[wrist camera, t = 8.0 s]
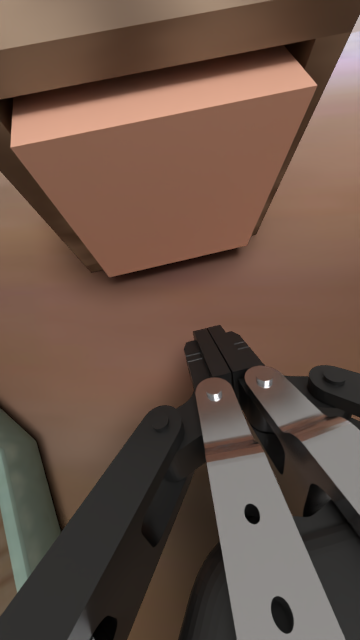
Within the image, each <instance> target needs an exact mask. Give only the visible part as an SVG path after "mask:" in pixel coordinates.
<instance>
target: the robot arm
mask: <svg viewBox="0 0 360 640" xmlns="http://www.w3.org/2000/svg"><path fill="white" fill-rule="evenodd" d="M193 335H194V341H190V342H186V345H185V348H184V351H185V356H186V360H187V365H188V369H189V373H190V377H191V380H192V384H193V388H194V392H193V395H192V396H191V398H190V399H189V400H188V401H187V402H186V403H185V404H183V405H182V406H180V407H178V408H177V409H175V408H174V407H172V406H167V405H163V406H159V407H156V408H154V409H152V410H151V411H150V412H149V413H148V414H147V415H146V416H145V417H144V419H143V420H142V421H141V423H140V424H139V426H138V427H137V428H136V430H135V431H134V433H133V434H132V435H131V437H130V438H129V439H128V441H127V442H126V444H125V445H124V446H123V448H122V449H121V450H120V452H119V453H118V455H117V456H116V457H115V459H114V460H113V461H112V463H111V464H110V466H109V467H108V468H107V470H106V471H105V473H104V474H103V475H102V477H101V478H100V479H99V481H98V482H97V484H96V485H95V486H94V488H93V489H92V490H91V492H90V493H89V495H88V496H87V497H86V499H85V500H84V502H83V503H82V504H81V506H80V507H79V508H78V510H77V511H76V513H75V514H74V515H73V517H72V518H71V519H70V521H69V522H68V524H67V525H66V526H65V528H64V529H63V530H62V532H61V533H60V535H59V536H58V537H57V539H56V540H55V542H54V543H53V544H52V546H51V547H50V548H49V550H48V551H47V553H46V554H45V555H44V557H43V558H42V559H41V561H40V562H39V564H38V565H37V566H36V568H35V569H34V570H33V572H32V573H31V575H30V576H29V577H28V579H27V580H26V582H25V583H24V584H23V586H22V587H21V588H20V590H19V591H18V593H17V594H16V595H15V597H14V598H13V599H12V601H11V602H10V604H9V605H8V606H7V608H6V609H5V611H4V612H3V613H2V615H1V616H0V640H127V638H128V636H129V633H130V631H131V628H132V626H133V623H134V621H135V618H136V616H137V613H138V611H139V608H140V606H141V603H142V601H143V598H144V596H145V593H146V591H147V588H148V586H149V583H150V581H151V578H152V576H153V573H154V571H155V568H156V566H157V564H158V561H159V559H160V556H161V554H162V551H163V549H164V546H165V544H166V541H167V539H168V536H169V534H170V531H171V529H172V526H173V524H174V521H175V519H176V516H177V514H178V511H179V509H180V506H181V504H182V501H183V499H184V496H185V494H186V492H187V489H188V487H189V484H190V482H191V479H192V477H193V474H194V471H195V470H196V469H197V468H198V467H200V466H201V465H202V464H204V463H205V462H207V468H208V474H209V479H210V485H211V491H212V497H213V503H214V509H215V514H216V520H217V526H218V532H219V538H220V542H219V543H218V544H217V545H216V546H215V547H214V548H213V549H212V551H211V552H210V553H209V555H208V556H207V558H206V559H205V561H204V563H203V565H202V567H201V569H200V571H199V573H198V575H197V577H196V580H195V583H194V585H193V588H192V591H191V594H190V598H189V601H188V605H187V609H186V612H185V616H184V620H183V624H182V628H181V631H180V635H179V639H178V640H360V421H358V420H355V419H353V418H351V416H352V414H353V415H355V416H358V417H360V374H359V373H356V372H352V371H349V370H345V369H342V368H338V367H334V366H328V365H321V366H316V367H314V368H312V369H311V370H310V372H309V377H308V376H283V375H282V374H281V373H280V372H279V371H278V370H276V369H274V368H272V367H268V366H265V365H264V364H263V363H262V362H261V360H260V359H259V358H258V357H257V356H256V354H255V353H254V352H253V351H252V350H251V348H250V347H248V345H247V344H246V342H244V340H243V339H242V338H241V336H240V335H238V334H236V333H234V332H232V331H231V332H227V333H226V332H225V331H224V329H223V328H222V327H221V325H217V326H213V327H209V328H207V329H206V328H205V329H201V330H197V331H193ZM242 410H243V411H244V413H245V415H246V420H247V422H246V420H245V417H244V415H243V412H242ZM252 436H253V437H252ZM253 438H254V439H255V440H254V439H253ZM272 470H273V471H272ZM273 472H274V474H275V476H276V478H277V480H278V482H279V484H280V487H281V490H280V487H279V485H278V483H277V480H276V478H275V476H274V474H273ZM281 491H282V492H281ZM290 511H291V513H292V515H293V516H292V515H291V513H290Z"/></svg>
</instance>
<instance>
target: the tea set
mask: <svg viewBox="0 0 360 640" xmlns="http://www.w3.org/2000/svg"><path fill="white" fill-rule="evenodd" d="M60 533H61V531H60V528H59V524H58V520H57V517H56V513H55V509H54V505H53V502H52V498H51V494H50V491H49V487H48V483H47V480H46V476H45V472H44V468H43V465H42V461H41V457H40V454H39V450H38V446H37V442H36V441H35V440H34V439H33V438H32V437H31V436H30V435H29V434H28V433H27V432H26V431H25V430H24V429H22V428H21V427H20V426H19V425H18V424H17V423H16V422H15V421H14V420H13V419H12V418H11V417H9V416H8V415H7V414H6V413H5V412H4V411H3V410H2V409H1V408H0V616H1V615H2V613H3V612H4V611H5V609H6V608H7V606H8V605H9V604H10V602H11V601H12V599H13V598H14V597H15V595H16V594H17V593H18V591H19V590H20V588H21V587H22V586H23V584H24V583H25V582H26V580H27V579H28V577H29V576H30V575H31V573H32V572H33V570H34V569H35V568H36V566H37V565H38V564H39V562H40V561H41V559H42V558H43V557H44V555H45V554H46V553H47V551H48V550H49V548H50V547H51V546H52V544H53V543H54V542H55V540H56V539H57V537H58V536H59V535H60Z"/></svg>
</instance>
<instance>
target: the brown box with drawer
mask: <svg viewBox="0 0 360 640" xmlns="http://www.w3.org/2000/svg"><path fill="white" fill-rule="evenodd" d="M359 15H360V0H0V171H1V172H2V173H3V175H4V176H5V177H6V178H7V179H8V180H9V181H10V182H11V183H12V185H13V186H14V187H15V188H16V189H17V190H18V191H19V192H20V194H21V195H22V196H23V197H24V198H25V199H26V200H27V201H28V202H29V204H30V205H31V206H32V207H33V208H34V209H35V210H36V211H37V212H38V214H39V215H40V216H41V217H42V218H43V219H44V220H45V221H46V223H47V224H48V225H49V226H50V227H51V228H52V229H53V230H54V231H55V233H56V234H57V235H58V236H59V237H60V238H61V239H62V240H63V241H64V243H65V244H66V245H67V246H68V247H69V248H70V249H71V250H72V252H73V253H74V254H75V255H76V256H77V257H78V258H79V259H80V260H81V262H82V263H83V264H84V265H85V266H86V267H87V268H88V269H89V270H90V272H95V271H100V270H103V268H102V267H101V266H100V264H99V263H98V262H97V260H96V259H95V258H94V257H93V255H92V254H91V253H90V251H89V250H88V249H87V247H86V246H85V245H84V243H83V242H82V241H81V240H80V238H79V237H78V236H77V234H76V233H75V232H74V230H73V229H72V228H71V226H70V225H69V224H68V222H67V221H66V220H65V219H64V217H63V216H62V215H61V213H60V212H59V211H58V209H57V208H56V207H55V205H54V204H53V203H52V201H51V200H50V199H49V198H48V196H47V195H46V194H45V192H44V191H43V190H42V188H41V187H40V186H39V184H38V183H37V182H36V180H35V179H34V178H33V177H32V175H31V174H30V173H29V171H28V170H27V169H26V167H25V166H24V165H23V163H22V162H21V161H20V160H19V158H18V157H17V156H16V154H15V153H14V152H13V150H12V149H11V148H10V146H11V128H12V110H13V97H16V96H21V95H26V94H31V93H36V92H42V91H47V90H52V89H57V88H62V87H68V86H73V85H78V84H83V83H88V82H93V81H99V80H104V79H109V78H114V77H119V76H125V75H130V74H135V73H140V72H145V71H151V70H156V69H161V68H166V67H171V66H177V65H182V64H187V63H192V62H197V61H202V60H208V59H213V58H218V57H223V56H228V55H234V54H239V53H244V52H249V51H254V50H260V49H265V48H270V47H275V46H280V45H284V46H285V47H286V49H287V50H288V51H289V52H290V53H291V54H292V56H293V57H294V58H295V59H296V60H297V61H298V63H299V64H300V65H301V66H302V67H303V69H304V70H305V71H306V72H307V73H308V74H309V76H310V77H311V78H312V79H313V80H314V81H315V83H316V84H317V85H318V86H317V88H316V90H315V93H314V95H313V97H312V99H311V102H310V104H309V106H308V108H307V111H306V113H305V115H304V117H303V120H302V122H301V124H300V126H299V129H298V131H297V133H296V135H295V138H294V140H293V142H292V145H291V147H290V149H289V151H288V154H287V156H286V158H285V160H284V163H283V165H282V167H281V169H280V172H279V174H278V176H277V178H276V181H275V183H274V185H273V187H272V190H271V192H270V194H269V197H268V199H267V201H266V203H265V206H264V208H263V210H262V212H261V215H260V217H259V219H258V221H257V224H256V226H255V228H254V230H253V233H252V235H255V234H256V233H257V231H258V229H259V227H260V225H261V223H262V221H263V218H264V216H265V214H266V212H267V210H268V208H269V206H270V204H271V201H272V199H273V197H274V195H275V193H276V191H277V189H278V187H279V184H280V182H281V180H282V178H283V176H284V174H285V172H286V170H287V167H288V165H289V163H290V161H291V159H292V157H293V155H294V153H295V151H296V148H297V146H298V144H299V142H300V140H301V138H302V136H303V134H304V131H305V129H306V127H307V125H308V123H309V121H310V119H311V117H312V114H313V112H314V110H315V108H316V106H317V104H318V102H319V100H320V98H321V95H322V93H323V91H324V89H325V87H326V85H327V83H328V81H329V78H330V76H331V74H332V72H333V70H334V68H335V66H336V64H337V61H338V59H339V57H340V55H341V53H342V51H343V49H344V47H345V44H346V42H347V40H348V38H349V36H350V34H351V32H352V29H353V27H354V25H355V23H356V21H357V19H358V17H359Z"/></svg>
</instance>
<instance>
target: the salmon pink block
mask: <svg viewBox="0 0 360 640" xmlns="http://www.w3.org/2000/svg"><path fill="white" fill-rule="evenodd" d="M317 86H318V85H317V84H316V83H315V81H314V80H313V79H312V78H311V77H310V76H309V74H308V73H307V72H306V71H305V70H304V69H303V67H302V66H301V65H300V64H299V63H298V61H297V60H296V59H295V58H294V57H293V56H292V54H291V53H290V52H289V51H288V50H287V49H286V47H285V46H284V45H280V46H275V47H270V48H265V49H260V50H254V51H249V52H244V53H239V54H234V55H228V56H223V57H218V58H213V59H208V60H202V61H197V62H192V63H187V64H182V65H177V66H171V67H166V68H161V69H156V70H151V71H145V72H140V73H135V74H130V75H125V76H119V77H114V78H109V79H104V80H99V81H93V82H88V83H83V84H78V85H73V86H68V87H62V88H57V89H52V90H47V91H42V92H36V93H31V94H26V95H21V96H16V97H13V110H12V128H11V146H10V148H11V149H12V150H13V152H14V153H15V154H16V156H17V157H18V158H19V160H20V161H21V162H22V163H23V165H24V166H25V167H26V169H27V170H28V171H29V173H30V174H31V175H32V177H33V178H34V179H35V180H36V182H37V183H38V184H39V186H40V187H41V188H42V190H43V191H44V192H45V194H46V195H47V196H48V198H49V199H50V200H51V201H52V203H53V204H54V205H55V207H56V208H57V209H58V211H59V212H60V213H61V215H62V216H63V217H64V219H65V220H66V221H67V222H68V224H69V225H70V226H71V228H72V229H73V230H74V232H75V233H76V234H77V236H78V237H79V238H80V240H81V241H82V242H83V243H84V245H85V246H86V247H87V249H88V250H89V251H90V253H91V254H92V255H93V257H94V258H95V259H96V260H97V262H98V263H99V264H100V266H101V267H102V268H103V270H104V271H105V272H106V274H107V275H108V276H109V277H113V276H118V275H122V274H126V273H130V272H135V271H139V270H143V269H148V268H152V267H156V266H160V265H165V264H169V263H173V262H178V261H182V260H186V259H191V258H195V257H199V256H203V255H208V254H212V253H216V252H221V251H225V250H229V249H233V248H238V247H242V246H246V245H247V244H248V242H249V239H250V237H251V235H252V233H253V230H254V228H255V226H256V224H257V221H258V219H259V217H260V215H261V212H262V210H263V208H264V206H265V203H266V201H267V199H268V197H269V194H270V192H271V190H272V187H273V185H274V183H275V181H276V178H277V176H278V174H279V172H280V169H281V167H282V165H283V163H284V160H285V158H286V156H287V154H288V151H289V149H290V147H291V145H292V142H293V140H294V138H295V135H296V133H297V131H298V129H299V126H300V124H301V122H302V120H303V117H304V115H305V113H306V111H307V108H308V106H309V104H310V102H311V99H312V97H313V95H314V93H315V90H316V88H317Z"/></svg>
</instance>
